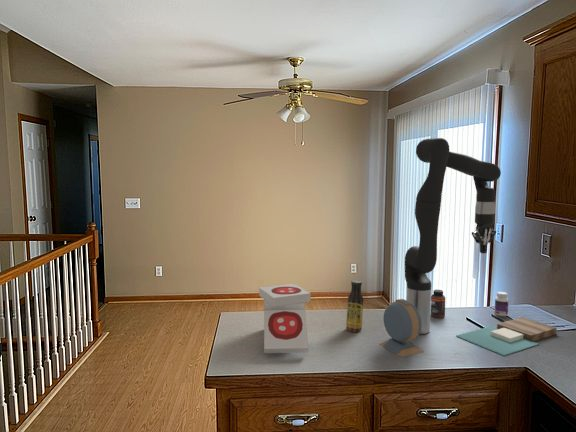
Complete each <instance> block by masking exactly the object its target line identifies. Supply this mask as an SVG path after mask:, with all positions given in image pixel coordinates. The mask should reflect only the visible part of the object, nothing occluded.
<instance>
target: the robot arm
mask: <svg viewBox="0 0 576 432" xmlns="http://www.w3.org/2000/svg"><path fill="white" fill-rule="evenodd" d="M415 153H416V154H415V155H416V157H417V159H419V161H421V162H423V163H427V164H428V163H429V168H428V173H427V176H426V179H425V181H424V182H423V184H422V185H421V187H420V189H419V190H418V193H417V195H416V196H415V207H414V216H415V220H416V224H417V227H418V232H419V242H418V243H419V246H417V245H413V246H410V248H408V249H407V251H406V253H405V256H404V278H405V282H406V299H405V300H406V301H408V302H409V303H410V304H412V305H413V306H414V307H415V308H416V309H417V310H418V312H419V314H420V317H421V322H422V327H421V331H420V333H419V335H424V334H428V333H430V329H431V328H430V327H431V296H432V282H431V280H430V279H429V278H428V275H427V274H429V273H431V272H432V271H433V270H434V269H435V267H436V265H437V259H438V233H439V222H440V221H439V220H440V214H441V207H442V206H441V205H442V197H443V196H442V195H443V188H444V180H445V175H446V171H447V168H448V169H452V170H455V171H458V172H460V173H463V174H464V175H467V176H471V177H472V179H473V183H474V186H475V190H476V197H475V198H476V202H475V206H474V207H475V209H474V210H475V211H474V223H475V224H476V227H475V231H471V236H472V237H473V239H474V241H475V242H476V244H479V253H480V254H487V252H488V245H489V244H490V243H492V241H493V240H494V237H495V235H496V233H497V230H494V227H493V225H494V224H495V220H496V219H495V218H496V217H495V215H496V202H495V200H496V190H495V188H494V187H491V186H489V185H488V182H496V181H498V180H499V178H500V177H501V175H502V172H501V168H500V167H499V166H498V165H497V164H495V163H492V162H488V161H484V160H483V161H482V160H480V159H477V158H474V157H472V156H470V155H466V154H463V153H459V152H453V151H450V144H449V142H448V140H447V139H445V138H443V137H437V138H434V137H433V138H425V139H423V140H420V141H419V142H418V144H416V149H415Z"/></svg>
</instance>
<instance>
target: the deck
mask: <svg viewBox="0 0 576 432" xmlns="http://www.w3.org/2000/svg"><path fill="white" fill-rule="evenodd" d="M501 328H507V329H509V330H512V331H515V332H518V333H521V334H524V336H523V338H524V339H527V340H530V341H533V342H536V341H538V340H541V339H545V338H548V337H552V336H555V335H556V334H557V327H555V326H552V325H549V324H545V323H542V322H539V321H535V320H532V319H530V318H526V317H522V316H521V317H517V318H514V319H509V320H506V321H502V322H499V323H497V326H496V329H501Z"/></svg>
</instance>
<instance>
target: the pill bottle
mask: <svg viewBox="0 0 576 432" xmlns="http://www.w3.org/2000/svg"><path fill="white" fill-rule="evenodd" d="M509 303H510V301H509V298H508V293H507V292H505V291H497V292H496V297H494V307H493V308H494V311H493V313H494V315H496V316H498V317H507V316H509Z"/></svg>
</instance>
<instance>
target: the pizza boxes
mask: <svg viewBox="0 0 576 432" xmlns="http://www.w3.org/2000/svg"><path fill="white" fill-rule="evenodd" d="M258 294H259V295H258V296H260V297H261V299H263V320H264V321H263V323H264V324H263V327H264V328H263V340H264V341H263V342H264V344H263V348H264V349H263V351H264V352H263V354H290V353H293V354H295V353H296V354H297V353H300V354H301V353H302V354H303V353H308V352H309V337H308V327H307V326H308V325H307V315H306V314H307V313H306V303H310V302H311V298H312V295H311V292H309V291H307V290H306V289H305V288H303V287H301V286H299V285H297V284H296V283H287V284H279V285H270V286H261V287H258Z"/></svg>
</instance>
